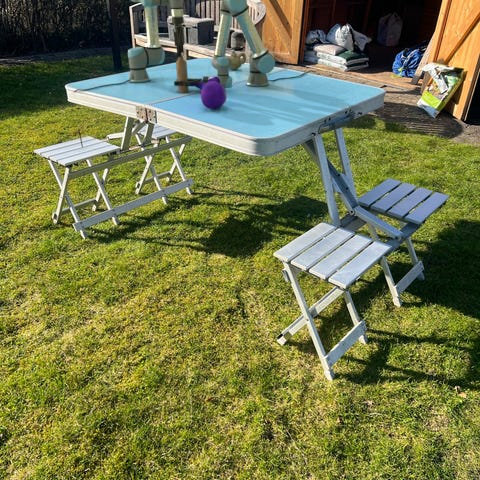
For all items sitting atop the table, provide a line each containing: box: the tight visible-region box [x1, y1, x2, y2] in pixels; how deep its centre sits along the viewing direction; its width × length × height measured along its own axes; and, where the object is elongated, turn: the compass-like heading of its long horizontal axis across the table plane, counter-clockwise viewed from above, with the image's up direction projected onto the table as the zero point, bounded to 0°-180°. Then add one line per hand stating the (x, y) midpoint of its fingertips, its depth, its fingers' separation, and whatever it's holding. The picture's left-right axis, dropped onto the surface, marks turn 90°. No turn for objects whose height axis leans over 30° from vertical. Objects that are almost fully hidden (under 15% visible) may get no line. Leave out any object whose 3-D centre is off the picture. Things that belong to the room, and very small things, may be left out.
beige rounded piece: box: [226, 50, 247, 71], centre depth 368 cm, size 21×12×15 cm, turn 120°
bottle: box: [175, 56, 190, 94], centre depth 299 cm, size 7×7×24 cm
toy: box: [189, 77, 227, 111], centre depth 263 cm, size 16×18×27 cm
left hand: (180, 56), depth 294 cm, fingers closed on cap, 4 cm apart
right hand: (175, 82), depth 303 cm, fingers closed on bottle, 7 cm apart
